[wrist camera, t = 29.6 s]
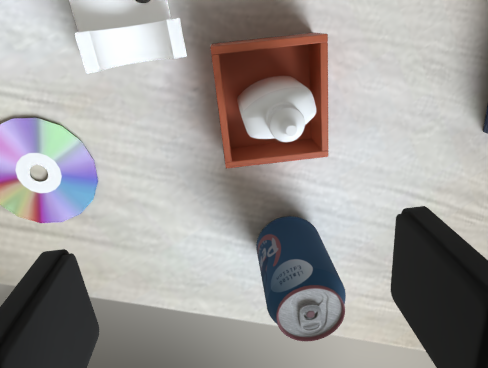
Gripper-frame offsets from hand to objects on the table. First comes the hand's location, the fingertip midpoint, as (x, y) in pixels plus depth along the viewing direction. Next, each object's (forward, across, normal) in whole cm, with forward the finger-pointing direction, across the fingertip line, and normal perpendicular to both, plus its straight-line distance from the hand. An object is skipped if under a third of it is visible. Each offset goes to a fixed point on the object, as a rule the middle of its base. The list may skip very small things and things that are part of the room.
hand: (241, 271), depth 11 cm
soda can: (+26, -5, +16) cm, 31 cm away
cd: (+26, +19, +5) cm, 33 cm away
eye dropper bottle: (+26, -4, 0) cm, 26 cm away
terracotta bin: (+26, -4, 0) cm, 27 cm away
